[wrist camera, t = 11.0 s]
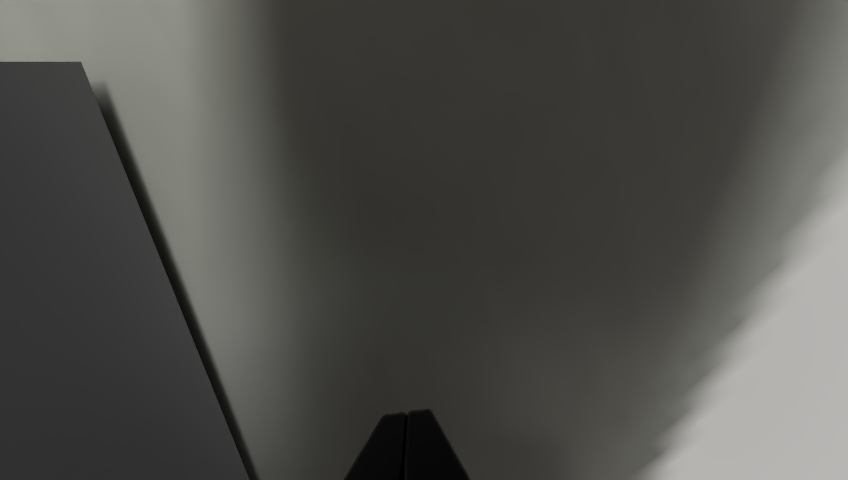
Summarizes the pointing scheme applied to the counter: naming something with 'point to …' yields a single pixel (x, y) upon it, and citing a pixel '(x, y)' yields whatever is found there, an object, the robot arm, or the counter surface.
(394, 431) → the robot arm
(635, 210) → the counter surface
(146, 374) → the tray
